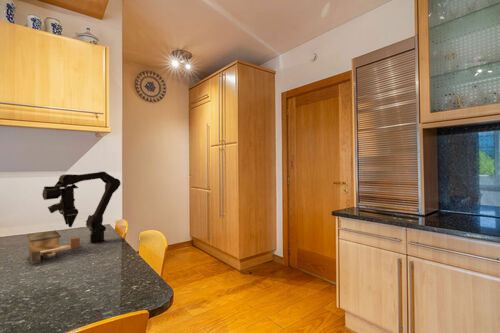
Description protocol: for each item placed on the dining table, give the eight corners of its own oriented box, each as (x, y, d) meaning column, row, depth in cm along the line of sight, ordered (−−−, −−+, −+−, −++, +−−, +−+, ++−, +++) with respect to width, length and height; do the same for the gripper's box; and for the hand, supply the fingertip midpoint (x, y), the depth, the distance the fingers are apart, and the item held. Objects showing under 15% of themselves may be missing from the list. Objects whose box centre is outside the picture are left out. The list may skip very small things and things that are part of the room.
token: (54, 254, 127) (54, 249, 127) (56, 256, 123) (56, 251, 123) (42, 256, 123) (42, 251, 123) (43, 259, 119) (43, 254, 120)
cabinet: (55, 251, 131) (55, 230, 131) (60, 258, 121) (60, 235, 121) (27, 256, 123) (27, 234, 123) (30, 264, 113) (30, 240, 113)
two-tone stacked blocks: (77, 245, 141) (77, 236, 141) (79, 247, 138) (79, 238, 138) (39, 252, 129) (39, 242, 129) (41, 254, 126) (41, 244, 126)
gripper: (46, 197, 138) (47, 225, 138) (51, 200, 124) (52, 232, 124) (71, 195, 145) (72, 222, 146) (77, 198, 132) (79, 227, 132)
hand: (68, 225), depth 137 cm, fingers open, 9 cm apart
